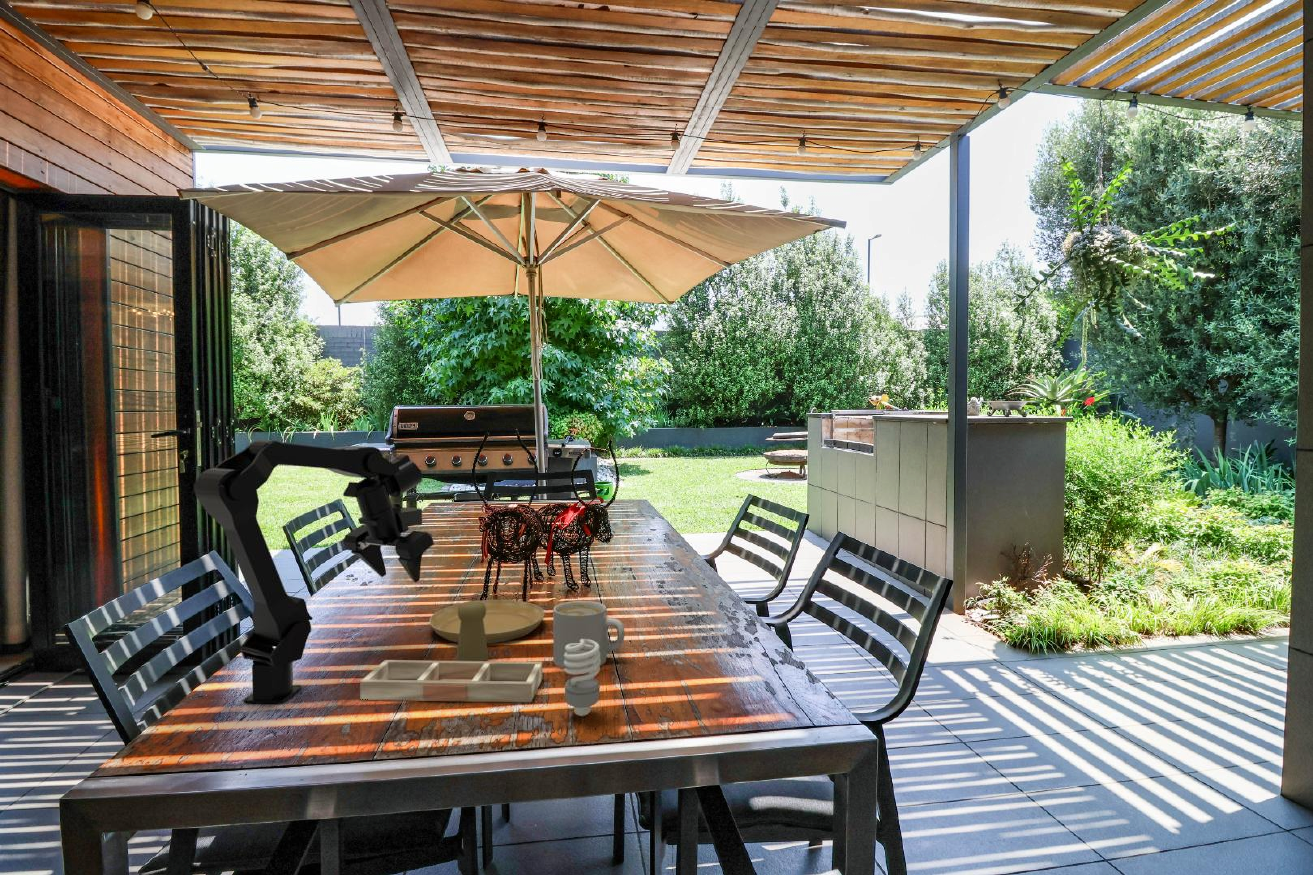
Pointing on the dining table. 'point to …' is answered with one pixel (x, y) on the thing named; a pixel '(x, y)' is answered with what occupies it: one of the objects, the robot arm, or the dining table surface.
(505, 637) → the plant saucer
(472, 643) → the olive chess pawn
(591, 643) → the light bulb
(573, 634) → the coffee mug
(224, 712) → the dining table surface
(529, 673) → the rack
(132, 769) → the dining table surface
